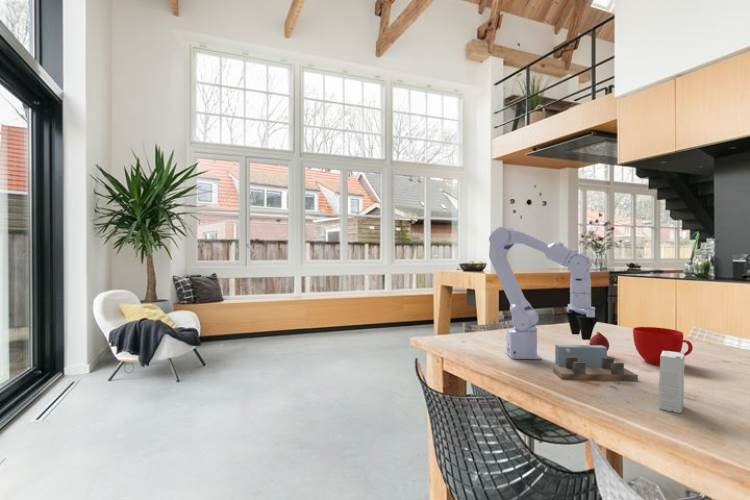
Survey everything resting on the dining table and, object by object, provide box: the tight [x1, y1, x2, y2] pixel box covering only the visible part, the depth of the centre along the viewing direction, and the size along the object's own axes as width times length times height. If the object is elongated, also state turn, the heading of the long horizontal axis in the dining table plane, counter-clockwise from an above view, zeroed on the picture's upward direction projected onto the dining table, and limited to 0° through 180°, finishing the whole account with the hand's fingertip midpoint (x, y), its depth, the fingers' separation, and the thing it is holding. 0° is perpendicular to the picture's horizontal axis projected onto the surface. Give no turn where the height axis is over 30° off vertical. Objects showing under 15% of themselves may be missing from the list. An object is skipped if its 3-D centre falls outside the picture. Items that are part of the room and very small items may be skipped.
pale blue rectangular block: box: [554, 344, 608, 368], centre depth 122 cm, size 14×4×6 cm, turn 85°
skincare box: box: [658, 351, 686, 414], centre depth 89 cm, size 6×4×12 cm
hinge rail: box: [552, 357, 639, 382], centre depth 112 cm, size 20×6×4 cm, turn 85°
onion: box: [588, 331, 610, 352], centre depth 134 cm, size 6×6×8 cm
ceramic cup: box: [632, 326, 694, 366], centre depth 124 cm, size 13×17×10 cm
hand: (580, 336), depth 123 cm, fingers open, 7 cm apart
